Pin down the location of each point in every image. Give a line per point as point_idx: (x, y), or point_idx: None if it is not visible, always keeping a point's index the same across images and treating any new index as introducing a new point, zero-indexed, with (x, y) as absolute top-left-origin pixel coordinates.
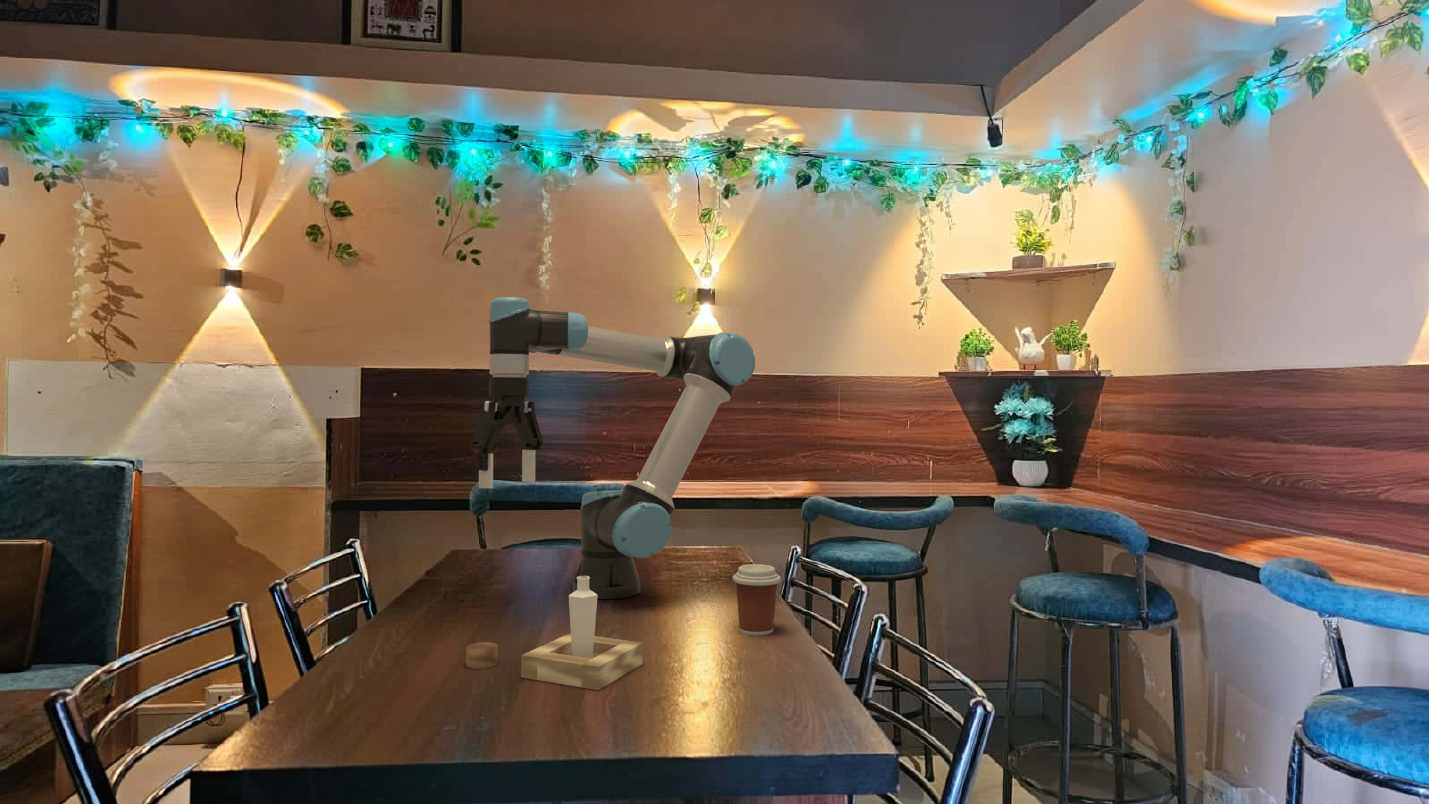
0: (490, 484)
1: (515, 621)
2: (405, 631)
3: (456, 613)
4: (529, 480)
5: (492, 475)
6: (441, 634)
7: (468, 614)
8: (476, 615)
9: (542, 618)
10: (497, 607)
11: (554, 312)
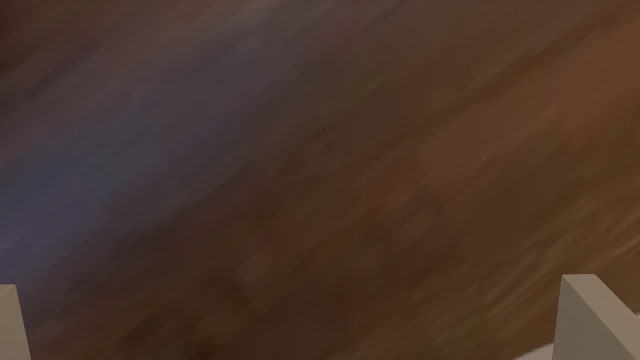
0: (609, 289)
1: (305, 92)
2: (502, 274)
3: (310, 282)
4: (16, 323)
5: (621, 331)
6: (493, 181)
7: (304, 250)
8: (302, 226)
9: (242, 42)
10: (207, 232)
11: None
